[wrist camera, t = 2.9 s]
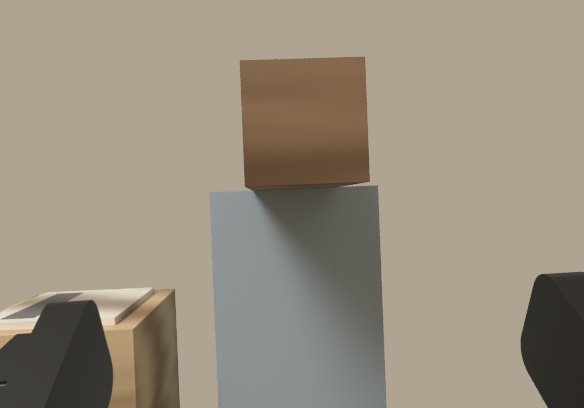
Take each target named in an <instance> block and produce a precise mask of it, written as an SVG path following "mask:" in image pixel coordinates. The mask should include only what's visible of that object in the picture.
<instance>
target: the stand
mask: <svg viewBox="0 0 584 408" xmlns="http://www.w3.org/2000/svg"><path fill="white" fill-rule="evenodd" d="M210 212H211V237H212V258H213V259H212V260H213V285H214V306H215V307H214V308H215V333H216V356H217V379H218V380H217V381H218V405H219V408H386V386H385V363H384V362H385V360H384V333H383V310H382V309H383V307H382V281H381V257H380V256H381V255H380V230H379V203H378V186H356V187H330V188H305V189H279V190H254V191H228V192H210Z"/></svg>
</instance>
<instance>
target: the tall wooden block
mask: <svg viewBox="0 0 584 408" xmlns="http://www.w3.org/2000/svg"><path fill="white" fill-rule="evenodd" d="M82 300H93V301H94V302H95V303H96V305H97V307H98V311H99V314H100V318H101V322H102V326H103V330H104V333H105V337H106V341H107V345H108V348H109V352H110V356H111V360H112V365H113V388H112V395H111V399H110V402H109V406H108V408H180V402H179V381H178V380H179V379H178V355H177V332H176V309H175V308H176V307H175V289H165V290H154V288H132V289H112V290H111V289H110V290H88V291H66V292H47V293H44V294H42V295H37V296H34V297H32V298H29V299H27V300H24V301H22V302H19V303H17V304H14V305H12V306H10V307H7V308H5V309H2V310H0V349H1V348H2V347H3V346H4V345H5V344H6V343H7V342H8V341H9V340H11V339H12V338H13V337H14V336H15V335H16V334H24V333H31V332H32V330H33V328H34V326H35V324H36V322H37V320H38V318H39V316H40V314H41V312H42V310H43V309H44V307H45V306H46V304H48V303H50V302H65V301H82Z"/></svg>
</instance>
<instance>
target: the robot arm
mask: <svg viewBox="0 0 584 408" xmlns="http://www.w3.org/2000/svg"><path fill="white" fill-rule="evenodd" d="M521 353H522V358H523V362H524V365H525V367H526V370H527V371H528V373H529V375H530V377H531V379H532V381H533V382H534V384H535V386H536V388H537V389H538V391H539V393H540V395H541V396H542V398H543V400H544V401H545V403H546V405H547V407H548V408H584V272H570V273H555V274H541V275H539V276H538V277H537V278H536V280H535V282H534V286H533V289H532V294H531V298H530V302H529V306H528V310H527V314H526V319H525V322H524V327H523V331H522V335H521ZM112 388H113V365H112V360H111V356H110V352H109V348H108V345H107V341H106V337H105V333H104V330H103V326H102V322H101V318H100V314H99V311H98V307H97V305H96V303H95V302H94V301H93V300H82V301H65V302H50V303H48V304H46V306H45V307H44V309H43V310H42V312H41V314H40V316H39V318H38V320H37V322H36V324H35V326H34V328H33V330H32V332H31V333H24V334H16V335H15V336H14V337H13V338H12V339H11V340H9V341H8V342H7V343H6V344H5V345H4V346H3V347H2V348H1V349H0V408H108V406H109V402H110V399H111V395H112Z"/></svg>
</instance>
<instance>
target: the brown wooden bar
mask: <svg viewBox="0 0 584 408" xmlns="http://www.w3.org/2000/svg"><path fill="white" fill-rule="evenodd" d="M365 73H366V72H365V57H344V58H343V57H342V58H312V59H311V58H308V59H274V60H241V61H240V77H241V101H242V124H243V125H242V126H243V151H244V175H245V187H247V188H249V189H251V190H253V191H254V190H279V189H305V188H330V187H341V186H347V185H353V184H358V183H364V182H369V181H370V177H369V150H368V124H367V100H366V99H367V98H366V74H365Z"/></svg>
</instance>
